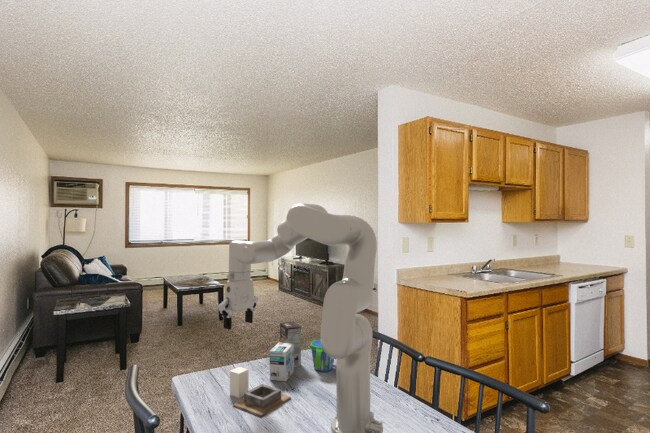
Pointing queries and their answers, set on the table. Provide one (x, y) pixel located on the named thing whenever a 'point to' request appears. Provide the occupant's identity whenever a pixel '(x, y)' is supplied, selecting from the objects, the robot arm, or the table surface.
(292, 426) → the table surface
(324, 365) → the snack cup
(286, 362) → the light bulb box
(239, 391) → the off-white rectangular box
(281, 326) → the coffee box
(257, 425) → the table surface
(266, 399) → the socket
